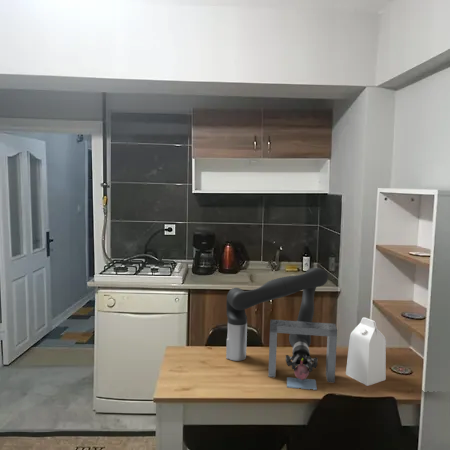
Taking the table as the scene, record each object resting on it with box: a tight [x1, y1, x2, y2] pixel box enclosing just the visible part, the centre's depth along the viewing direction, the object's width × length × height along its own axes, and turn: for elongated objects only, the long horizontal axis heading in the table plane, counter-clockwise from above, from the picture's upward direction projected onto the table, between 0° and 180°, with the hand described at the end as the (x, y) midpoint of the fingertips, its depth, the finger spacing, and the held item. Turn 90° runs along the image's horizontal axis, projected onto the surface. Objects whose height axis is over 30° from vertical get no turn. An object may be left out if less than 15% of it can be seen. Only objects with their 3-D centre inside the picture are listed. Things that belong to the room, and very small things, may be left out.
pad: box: [286, 376, 318, 391], centre depth 177 cm, size 12×8×1 cm, turn 82°
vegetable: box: [293, 358, 310, 380], centre depth 176 cm, size 6×6×10 cm
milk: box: [345, 317, 387, 387], centre depth 183 cm, size 12×12×26 cm
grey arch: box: [267, 319, 338, 384], centre depth 184 cm, size 28×8×23 cm, turn 82°
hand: (302, 369), depth 174 cm, fingers closed on vegetable, 5 cm apart
